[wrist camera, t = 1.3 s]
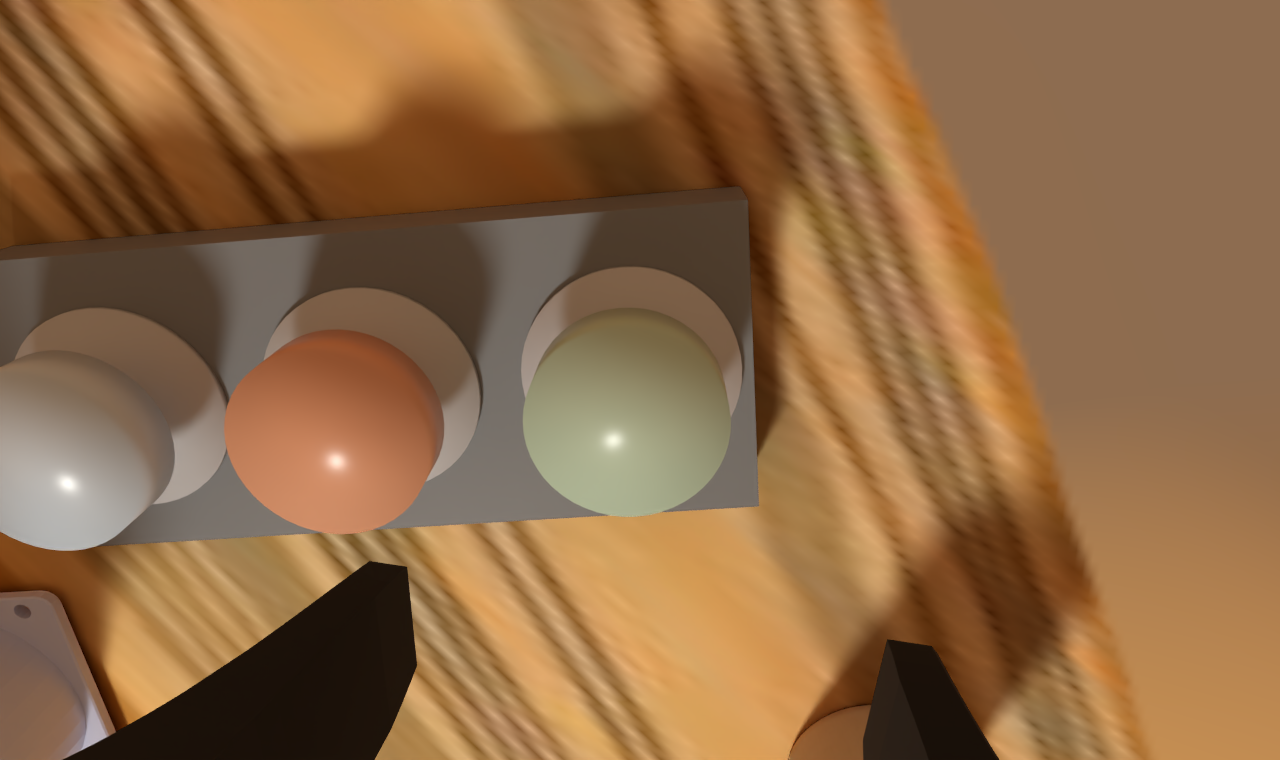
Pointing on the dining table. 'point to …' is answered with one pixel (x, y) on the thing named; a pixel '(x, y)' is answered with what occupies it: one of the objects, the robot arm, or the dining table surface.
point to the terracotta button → (335, 431)
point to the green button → (627, 413)
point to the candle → (834, 736)
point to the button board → (392, 332)
